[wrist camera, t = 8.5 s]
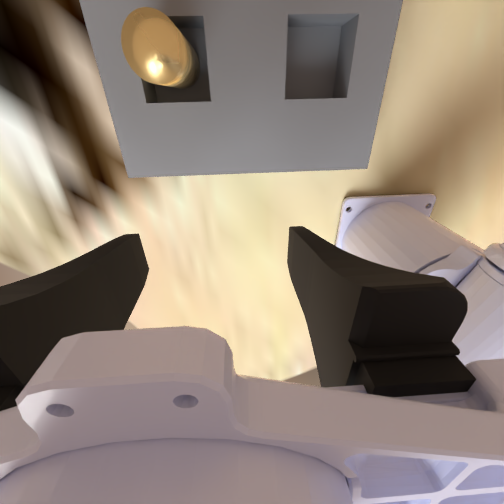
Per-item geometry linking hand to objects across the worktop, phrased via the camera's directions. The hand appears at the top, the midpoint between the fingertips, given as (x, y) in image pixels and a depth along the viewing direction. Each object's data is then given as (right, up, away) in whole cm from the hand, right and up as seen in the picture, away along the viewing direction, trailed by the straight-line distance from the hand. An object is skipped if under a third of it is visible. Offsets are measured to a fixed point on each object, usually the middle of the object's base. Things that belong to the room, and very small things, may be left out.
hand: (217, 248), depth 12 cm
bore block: (+1, +12, +4) cm, 13 cm away
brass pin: (-3, +11, +3) cm, 12 cm away
